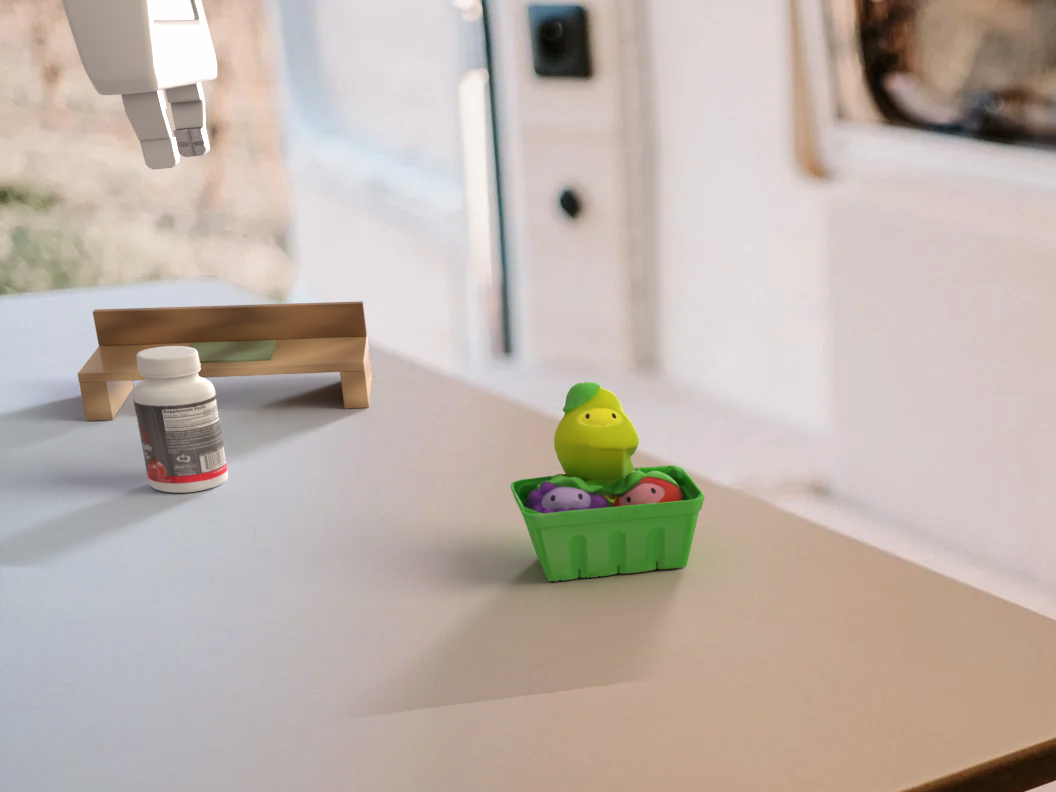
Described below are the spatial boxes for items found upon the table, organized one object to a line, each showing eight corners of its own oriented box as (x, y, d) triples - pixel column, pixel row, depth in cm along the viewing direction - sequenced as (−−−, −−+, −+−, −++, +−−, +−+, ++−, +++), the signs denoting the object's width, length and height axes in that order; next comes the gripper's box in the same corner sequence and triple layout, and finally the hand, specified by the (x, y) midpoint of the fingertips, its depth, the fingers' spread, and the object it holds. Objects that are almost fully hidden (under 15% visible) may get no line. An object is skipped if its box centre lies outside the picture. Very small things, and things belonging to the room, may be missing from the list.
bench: (86, 421, 132) (70, 336, 130) (108, 388, 142) (94, 309, 139) (369, 407, 139) (359, 326, 136) (372, 377, 148) (363, 301, 146)
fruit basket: (530, 592, 100) (516, 415, 96) (512, 546, 108) (497, 380, 103) (710, 573, 104) (704, 402, 100) (680, 530, 112) (673, 370, 107)
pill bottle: (139, 480, 118) (116, 349, 115) (215, 468, 122) (195, 340, 118) (161, 499, 115) (137, 364, 111) (239, 486, 118) (219, 354, 114)
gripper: (114, -58, 109) (165, 153, 115) (22, -72, 91) (88, 180, 96) (212, -64, 111) (258, 145, 116) (141, -79, 92) (200, 170, 97)
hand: (180, 161), depth 106 cm, fingers open, 8 cm apart
